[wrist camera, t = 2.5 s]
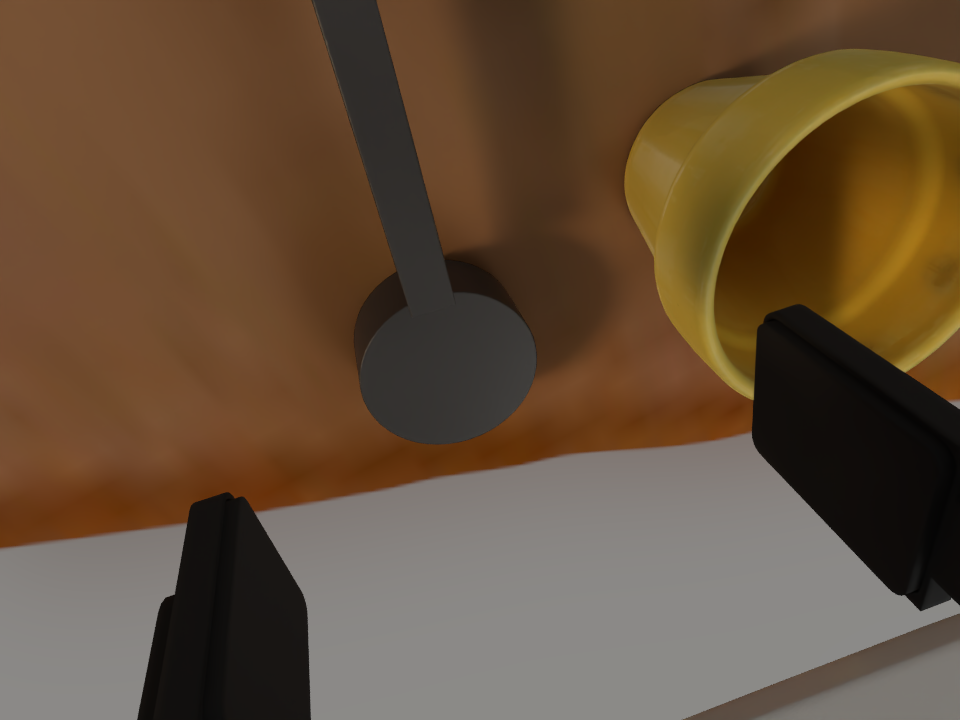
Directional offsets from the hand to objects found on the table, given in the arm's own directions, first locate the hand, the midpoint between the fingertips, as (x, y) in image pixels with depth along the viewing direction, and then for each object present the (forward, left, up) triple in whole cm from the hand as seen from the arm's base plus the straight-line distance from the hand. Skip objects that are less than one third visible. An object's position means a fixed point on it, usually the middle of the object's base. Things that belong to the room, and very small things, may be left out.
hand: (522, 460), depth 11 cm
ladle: (0, -1, -15) cm, 15 cm away
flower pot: (-12, +2, -15) cm, 19 cm away
